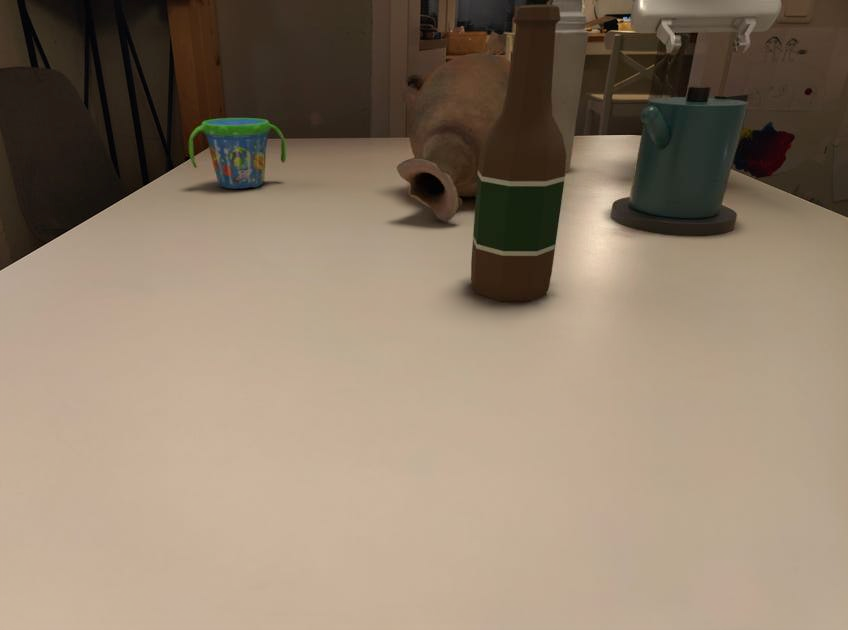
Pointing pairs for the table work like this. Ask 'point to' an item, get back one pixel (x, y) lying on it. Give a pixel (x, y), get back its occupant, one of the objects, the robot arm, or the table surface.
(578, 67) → the thermos bottle
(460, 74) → the jug
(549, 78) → the beer bottle
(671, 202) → the kettle
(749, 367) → the table surface
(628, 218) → the kettle base
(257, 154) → the snack cup
